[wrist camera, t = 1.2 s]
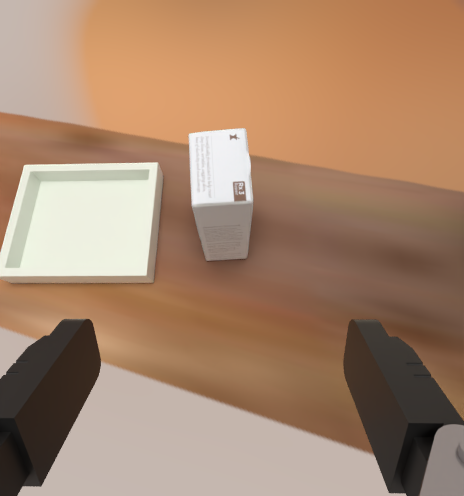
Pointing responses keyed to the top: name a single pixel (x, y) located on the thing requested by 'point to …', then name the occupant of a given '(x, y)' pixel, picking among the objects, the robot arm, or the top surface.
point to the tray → (84, 224)
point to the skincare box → (221, 192)
